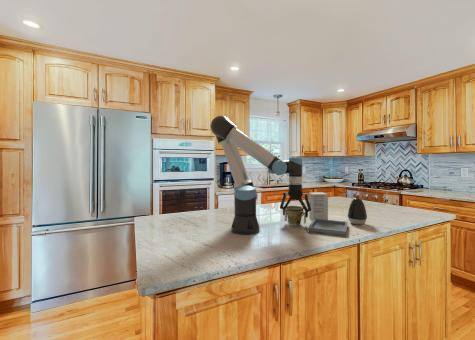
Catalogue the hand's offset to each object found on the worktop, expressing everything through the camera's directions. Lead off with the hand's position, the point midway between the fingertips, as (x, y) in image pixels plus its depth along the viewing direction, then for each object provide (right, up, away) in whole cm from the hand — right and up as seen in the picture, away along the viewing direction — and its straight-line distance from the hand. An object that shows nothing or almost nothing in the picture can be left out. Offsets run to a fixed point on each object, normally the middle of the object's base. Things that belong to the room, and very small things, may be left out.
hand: (295, 221), depth 141 cm
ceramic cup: (0, -2, 0) cm, 2 cm away
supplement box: (+18, -1, +13) cm, 22 cm away
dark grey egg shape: (+37, -2, +2) cm, 37 cm away
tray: (+16, -2, -9) cm, 18 cm away
